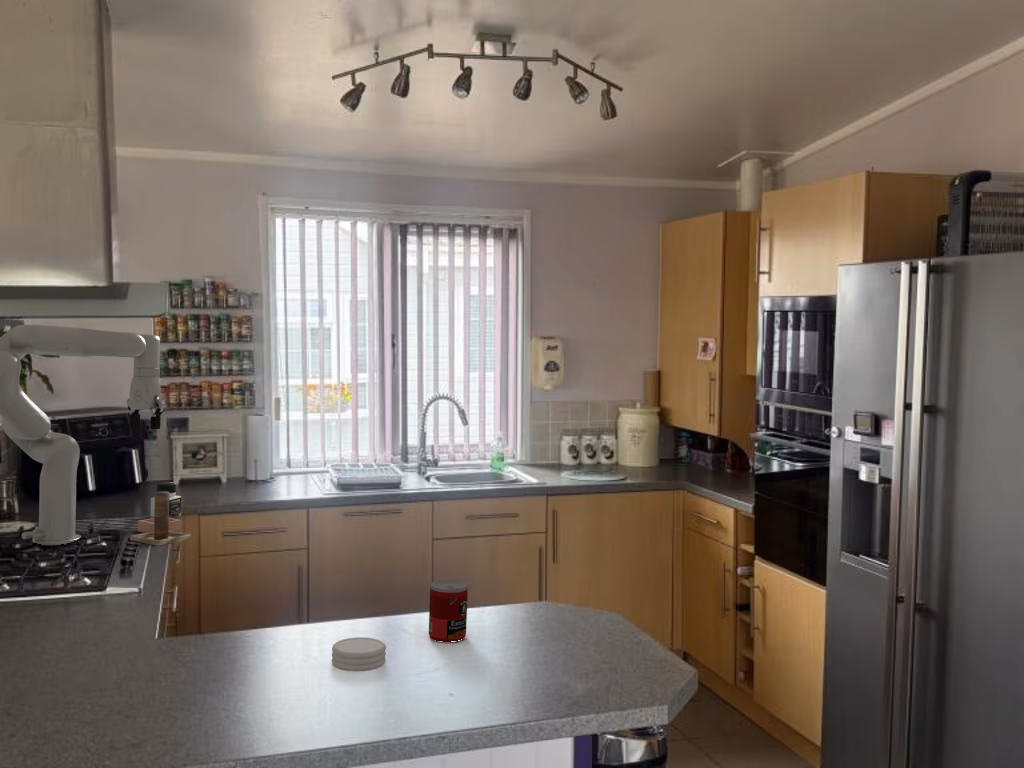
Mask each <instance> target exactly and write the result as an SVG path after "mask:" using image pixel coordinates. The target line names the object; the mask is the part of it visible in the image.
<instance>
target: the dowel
mask: <svg viewBox="0 0 1024 768" xmlns="http://www.w3.org/2000/svg"><path fill="white" fill-rule="evenodd" d="M154 497H155V512H154V517H153V518H154V540H163V539H168V533H169V492H164V491H162V492H157V491H155V492H154Z"/></svg>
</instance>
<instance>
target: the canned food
mask: <svg viewBox="0 0 1024 768" xmlns="http://www.w3.org/2000/svg"><path fill="white" fill-rule="evenodd" d="M468 590H469V587H468V584H467V583H466V582H463V581H462V580H461V581H459V580H453V579H440V580H435V581H433V582H431V583H430V586H429V604H428V605H429V607H428V608H429V609H428V636H429V638H430V639H431V640H432V639H433V640H432V641H434V640H436V641H435V642H437V641H443V642H451V641H458V640H461V639H463V638H464V637H465V638H466V637H467V622H468V618H467V616H468V599H469V598H468V597H469V596H468V594H469V593H468V592H469V591H468ZM465 638H464V639H465ZM464 639H463V640H464Z"/></svg>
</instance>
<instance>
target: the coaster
mask: <svg viewBox="0 0 1024 768" xmlns="http://www.w3.org/2000/svg"><path fill="white" fill-rule="evenodd" d="M386 649H387V645H386V644H385V643H384V642H383V641H382V640H380V639H377V638H372V637H361V636H360V637H357V636H356V637H348V638H344V639H341V640H339V641H336V642H335V643H334V644H332V647H331V651H332V654H331V663H332V665H333V666H334V668H336V669H339V670H342V671H347V672H367V671H372V670H375V669H379V668H381V667H382V666H384V664H385V663H386V656H387V655H386V654H387V653H386Z"/></svg>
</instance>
